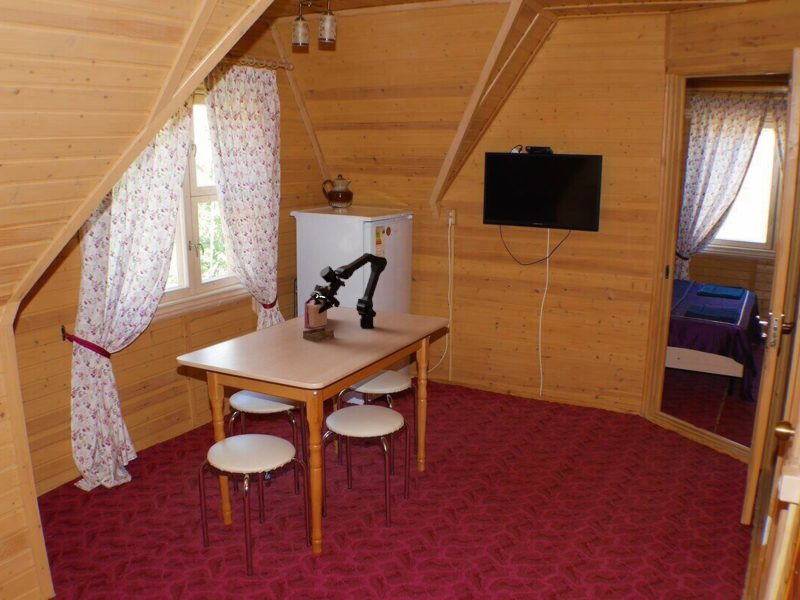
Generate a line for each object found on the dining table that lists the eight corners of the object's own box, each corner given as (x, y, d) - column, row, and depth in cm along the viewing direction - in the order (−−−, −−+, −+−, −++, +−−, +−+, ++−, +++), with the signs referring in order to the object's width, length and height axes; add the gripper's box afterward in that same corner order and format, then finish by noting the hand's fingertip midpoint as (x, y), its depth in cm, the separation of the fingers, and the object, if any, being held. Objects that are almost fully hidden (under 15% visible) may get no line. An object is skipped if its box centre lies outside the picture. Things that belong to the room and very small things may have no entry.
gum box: (318, 329, 393) (317, 304, 390) (303, 328, 393) (303, 303, 391) (327, 318, 416) (326, 295, 413) (313, 318, 417) (312, 294, 414)
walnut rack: (323, 333, 382) (323, 326, 382) (334, 337, 376) (333, 329, 375) (302, 338, 374) (302, 330, 373) (313, 341, 367) (313, 334, 366)
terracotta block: (321, 322, 378) (321, 303, 376) (327, 324, 375) (326, 305, 373) (309, 325, 373) (308, 306, 370) (314, 327, 369) (313, 307, 367)
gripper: (312, 276, 378) (295, 300, 373) (334, 281, 365) (317, 306, 360) (325, 289, 385) (308, 313, 380) (347, 294, 372) (330, 319, 367)
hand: (315, 312), depth 371 cm, fingers closed on terracotta block, 4 cm apart
